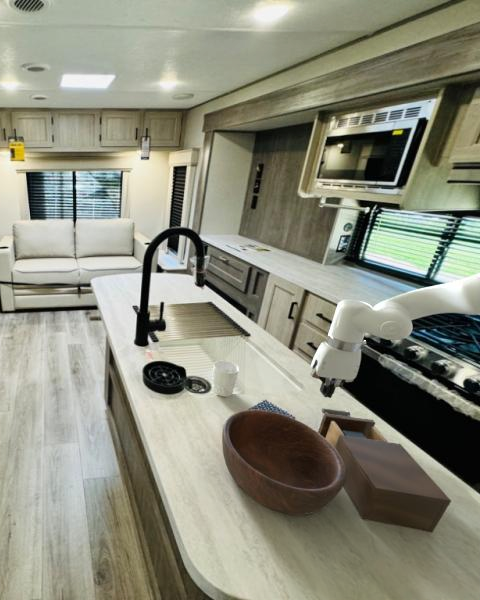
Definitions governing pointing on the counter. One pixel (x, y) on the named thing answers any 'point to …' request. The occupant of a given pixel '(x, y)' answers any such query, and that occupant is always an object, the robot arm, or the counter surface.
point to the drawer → (346, 426)
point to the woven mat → (270, 408)
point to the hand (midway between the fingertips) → (325, 394)
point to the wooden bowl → (281, 461)
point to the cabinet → (390, 484)
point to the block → (353, 434)
